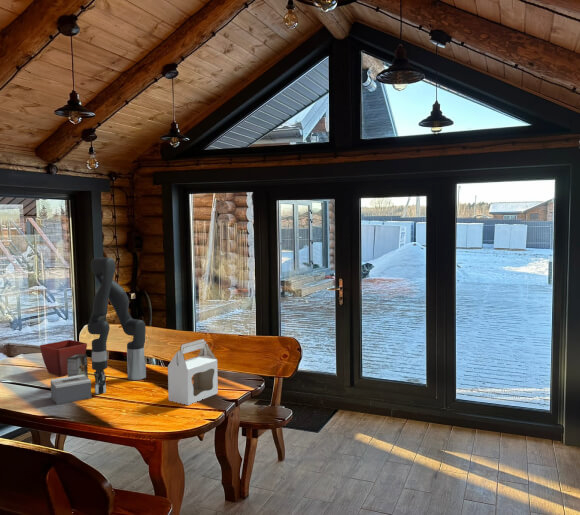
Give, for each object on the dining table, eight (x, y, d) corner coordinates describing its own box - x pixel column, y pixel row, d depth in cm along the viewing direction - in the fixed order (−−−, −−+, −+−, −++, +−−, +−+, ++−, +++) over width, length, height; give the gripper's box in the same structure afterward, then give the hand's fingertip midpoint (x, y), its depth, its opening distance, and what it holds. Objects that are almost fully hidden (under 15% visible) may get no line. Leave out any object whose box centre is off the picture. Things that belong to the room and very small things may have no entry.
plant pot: (70, 366, 325) (69, 339, 324) (88, 371, 313) (87, 343, 312) (40, 373, 309) (39, 345, 308) (58, 379, 298) (57, 349, 297)
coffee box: (77, 382, 291) (77, 353, 290) (88, 383, 290) (87, 354, 289) (67, 387, 282) (66, 358, 281) (78, 388, 281) (77, 358, 280)
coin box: (84, 391, 276) (83, 374, 275) (91, 398, 265) (90, 380, 265) (51, 397, 267) (50, 379, 266) (57, 404, 256) (56, 386, 255)
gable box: (187, 405, 254) (186, 347, 252) (167, 400, 261) (166, 344, 259) (218, 393, 272) (217, 339, 270) (199, 389, 279) (198, 336, 278)
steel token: (104, 391, 276) (104, 382, 275) (106, 392, 274) (105, 383, 274) (94, 393, 273) (94, 383, 272) (96, 394, 271) (95, 384, 271)
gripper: (111, 361, 269) (111, 394, 270) (103, 355, 280) (103, 388, 281) (95, 363, 264) (96, 397, 265) (88, 357, 276) (89, 390, 277)
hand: (100, 392), depth 273 cm, fingers closed on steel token, 2 cm apart
